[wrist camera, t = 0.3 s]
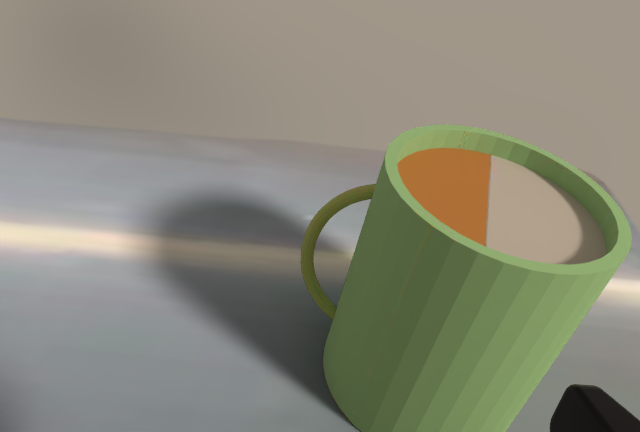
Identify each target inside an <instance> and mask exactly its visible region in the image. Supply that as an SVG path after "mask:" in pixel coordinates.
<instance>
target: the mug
mask: <svg viewBox="0 0 640 432" xmlns="http://www.w3.org/2000/svg"><path fill="white" fill-rule="evenodd" d="M367 199H371V202H370V205H369V208H368V211H367V214H366V217H365V220H364V224H363V227H362V230H361V233H360V236H359V239H358V243H357V246H356V249H355V252H354V255H353V258H352V261H351V265H350V268H349V271H348V274H347V277H346V280H345V284H344V287H343V290H342V293H341V296H340V299H339V303H338V306H337V307H336V306H335V305H334V304H333V303H332V302H331V301H330V300H329V299H328V298H327V296H326V295H325V293H324V292H323V290H322V289H321V287H320V285H319V283H318V280H317V278H316V274H315V270H314V264H313V254H314V248H315V244H316V241H317V238H318V236H319V234H320V232H321V230H322V228H323V227H324V226H325V224H326V223H327V222H328V220H329V219H330V218H331V217H332V216H333V215H335V214H336V213H337V212H338V211H340V210H341V209H343V208H345V207H347V206H349V205H351V204H353V203H356V202H359V201H362V200H367ZM631 240H632V235H631V231H630V226H629V223H628V221H627V219H626V217H625V216H624V214H623V212H622V210H621V209H620V208H619V206H618V205H617V204H616V202H615V201H614V200H613V199H612V198H611V197H610V196H609V195H608V194H607V193H606V192H605V191H604V190H603V189H602V188H601V187H600V186H599V185H598V184H597V183H596V182H594V181H593V180H592V179H591V178H589V177H588V176H587V175H586V174H584V173H583V172H581V171H580V170H578V169H577V168H575V167H574V166H572V165H571V164H569V163H567V162H566V161H564V160H562V159H560V158H559V157H557V156H555V155H553V154H551V153H549V152H547V151H545V150H543V149H541V148H539V147H536V146H534V145H531V144H529V143H527V142H524V141H521V140H519V139H516V138H513V137H510V136H507V135H503V134H500V133H497V132H493V131H489V130H484V129H480V128H474V127H467V126H460V125H429V126H423V127H418V128H414V129H411V130H409V131H406V132H403V133H402V134H400V135H399V136H398V137H396V138H395V139H394V140H393V141H392V142H391V144H390V145H389V146H388V148H387V151H386V154H385V157H384V161H383V164H382V167H381V170H380V173H379V176H378V179H377V183H376V184H372V185H365V186H360V187H357V188H353V189H351V190H348V191H346V192H344V193H342V194H340V195H338V196H337V197H335V198H333V199H332V200H331V201H329V202H328V203H327V204H326V205H325V206H323V207H322V208H321V209H320V210H319V212H318V213H317V214H316V215H315V217H314V218H313V219H312V221H311V223H310V224H309V226H308V228H307V230H306V233H305V235H304V239H303V243H302V248H301V269H302V274H303V278H304V281H305V284H306V286H307V289H308V290H309V292H310V294H311V296H312V298H313V299H314V301H315V302H316V303H317V305H318V306H319V307H320V308H321V309H322V310H323V311H324V312H325V313H326V314H327V315H328V316H329V317H330V318H331V319H332V320H333V321H332V325H331V328H330V331H329V334H328V337H327V341H326V344H325V347H324V353H323V368H324V374H325V379H326V382H327V385H328V387H329V390H330V393H331V395H332V397H333V398H334V400H335V402H336V403H337V405H338V407H339V408H340V410H341V411H342V412H343V414H344V415H345V416H346V417H347V418H348V420H349V421H350V422H351V423H352V424H353V425H354V426H355V427H356V428H357V429H359V430H360V431H361V432H506V430H507V429H508V427H509V426H510V424H511V423H512V421H513V420H514V419H515V417H516V416H517V414H518V413H519V411H520V410H521V408H522V407H523V405H524V404H525V403H526V401H527V400H528V398H529V397H530V395H531V394H532V392H533V391H534V389H535V388H536V387H537V385H538V384H539V382H540V381H541V379H542V378H543V376H544V375H545V374H546V372H547V371H548V369H549V368H550V366H551V365H552V363H553V362H554V360H555V359H556V358H557V356H558V355H559V353H560V352H561V350H562V349H563V347H564V346H565V344H566V343H567V342H568V340H569V339H570V337H571V336H572V334H573V333H574V331H575V330H576V328H577V327H578V326H579V324H580V323H581V321H582V320H583V318H584V317H585V315H586V314H587V313H588V311H589V310H590V308H591V307H592V305H593V304H594V302H595V301H596V299H597V298H598V297H599V295H600V294H601V292H602V291H603V289H604V288H605V286H606V285H607V283H608V282H609V281H610V279H611V278H612V276H613V275H614V273H615V272H616V270H617V269H618V267H619V266H620V265H621V263H622V262H623V260H624V259H625V257H626V255H627V254H628V252H629V250H630V249H631Z"/></svg>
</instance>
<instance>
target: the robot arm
mask: <svg viewBox="0 0 640 432" xmlns="http://www.w3.org/2000/svg"><path fill="white" fill-rule="evenodd" d="M550 432H640V420H638V419H637V418H636V417H635V416H633V415H632V414H631V413H630V412H629V411H627V410H626V409H625V408H624V407H623V406H621V405H620V404H619V403H618V402H617V401H615V400H614V399H613V398H612V397H611V396H609V395H608V394H607V393H606V392H604V391H603V390H602V389H600V388H599V387H597V386H593V385H577V384H574V385H570V386H569V387H568V388H567V389H566V390H565V392H564V394H563V396H562V398H561V400H560V402H559V404H558V406H557V408H556V410H555V412H554V414H553V416H552V418H551V422H550Z"/></svg>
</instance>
